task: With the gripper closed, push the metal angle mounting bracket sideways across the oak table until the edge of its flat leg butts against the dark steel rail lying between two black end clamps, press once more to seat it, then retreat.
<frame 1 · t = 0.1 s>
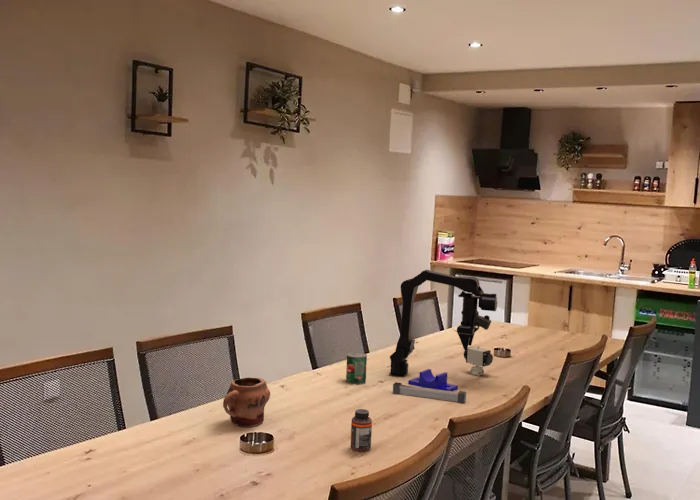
hand: (467, 347, 276), 14 cm above the table, tool pointing down, fingers open, 9 cm apart
pneumatic valve: (477, 375, 292), on the table
canned tomato: (355, 382, 273), on the table
supplement bottle: (360, 449, 202), on the table
rail: (428, 397, 256), on the table
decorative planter: (244, 424, 219), on the table
mounting bracket: (432, 388, 271), on the table
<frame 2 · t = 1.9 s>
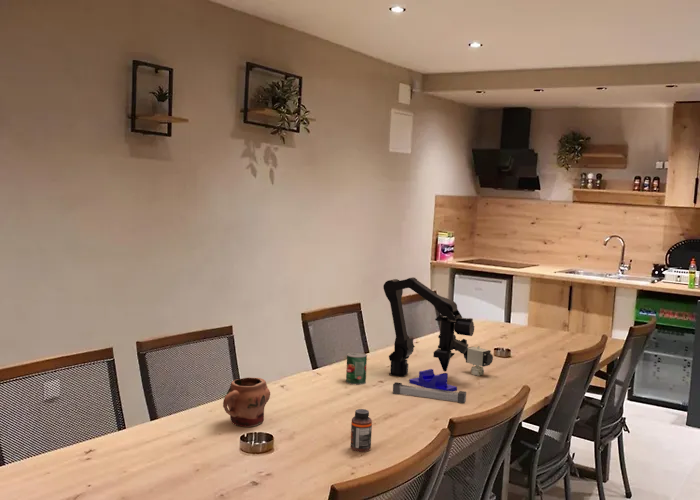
hand: (445, 371, 277), 5 cm above the table, tool pointing down, fingers closed
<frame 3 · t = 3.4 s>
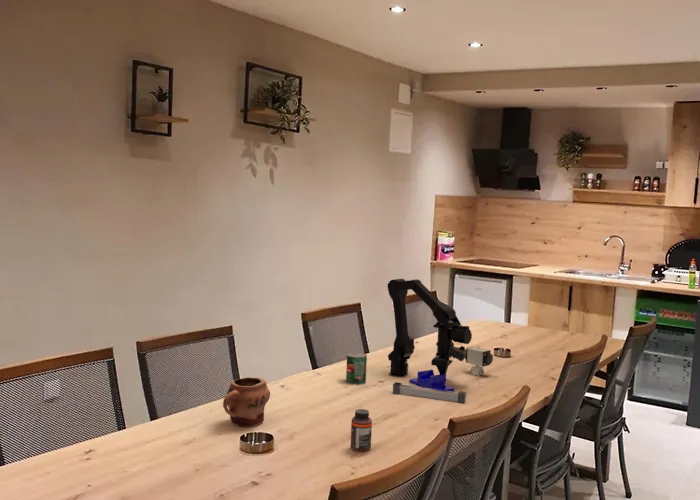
hand: (443, 379, 274), 2 cm above the table, tool pointing down, fingers closed
mounting bracket: (431, 388, 270), on the table, touching gripper
everything else where it was.
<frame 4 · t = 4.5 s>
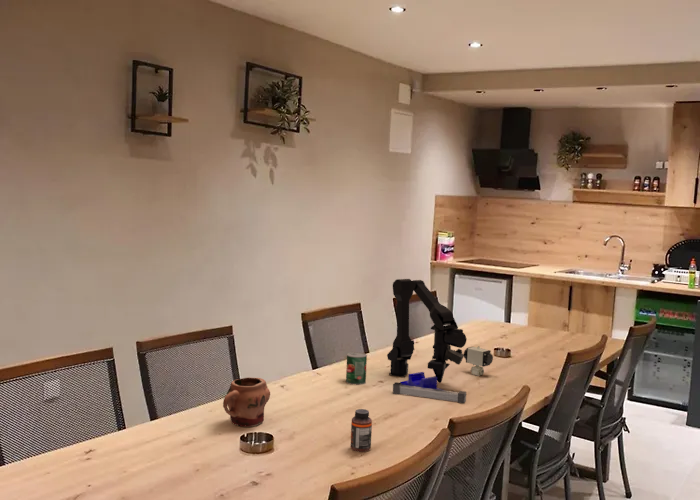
hand: (439, 382, 268), 2 cm above the table, tool pointing down, fingers closed
mounting bracket: (422, 391, 267), on the table
everything else where it was.
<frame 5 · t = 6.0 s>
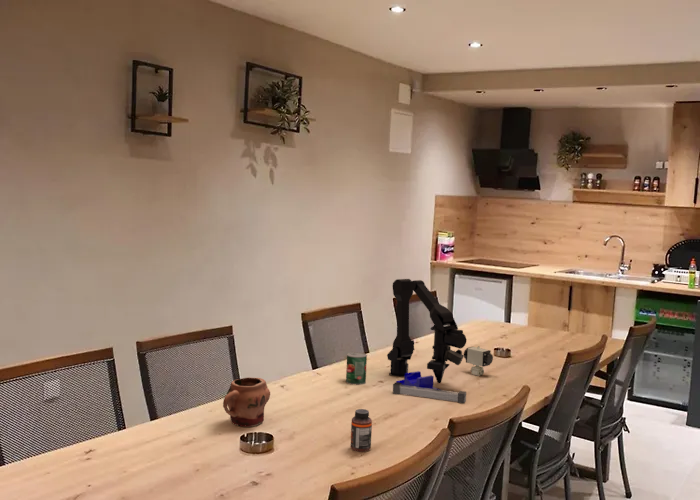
hand: (439, 383, 268), 2 cm above the table, tool pointing down, fingers closed
mounting bracket: (418, 390, 267), on the table
everything else where it was.
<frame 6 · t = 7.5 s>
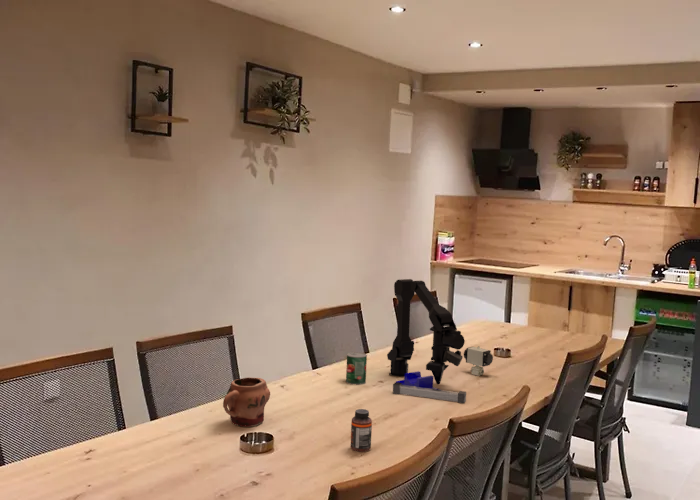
hand: (438, 384, 266), 2 cm above the table, tool pointing down, fingers closed
nothing on the table moved.
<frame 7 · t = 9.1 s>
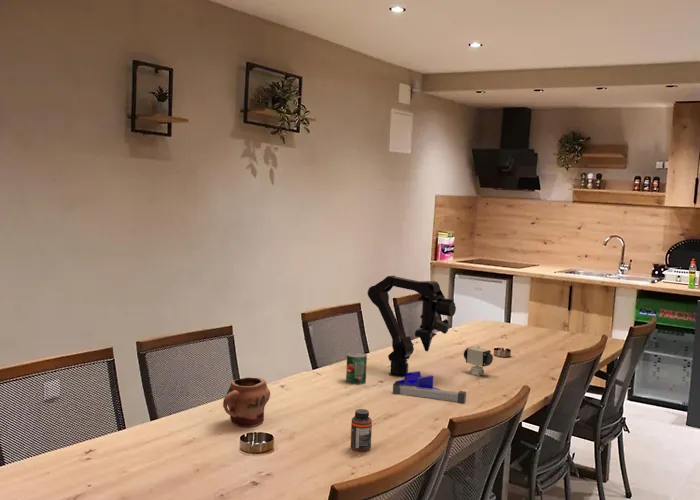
hand: (426, 351, 279), 12 cm above the table, tool pointing down, fingers closed
nothing on the table moved.
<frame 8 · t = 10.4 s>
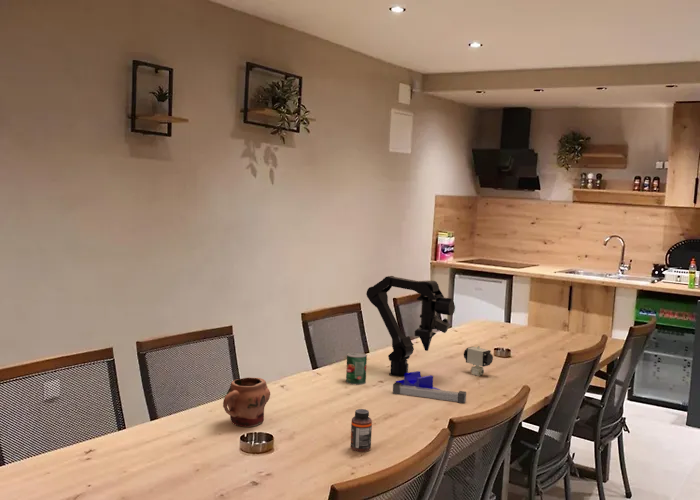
hand: (426, 350, 279), 12 cm above the table, tool pointing down, fingers closed
nothing on the table moved.
at the end: mounting bracket inside the target area (5.5 cm from its centre), on the table; mounting bracket moved 7.5 cm from its start; mounting bracket tilted 0° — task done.
